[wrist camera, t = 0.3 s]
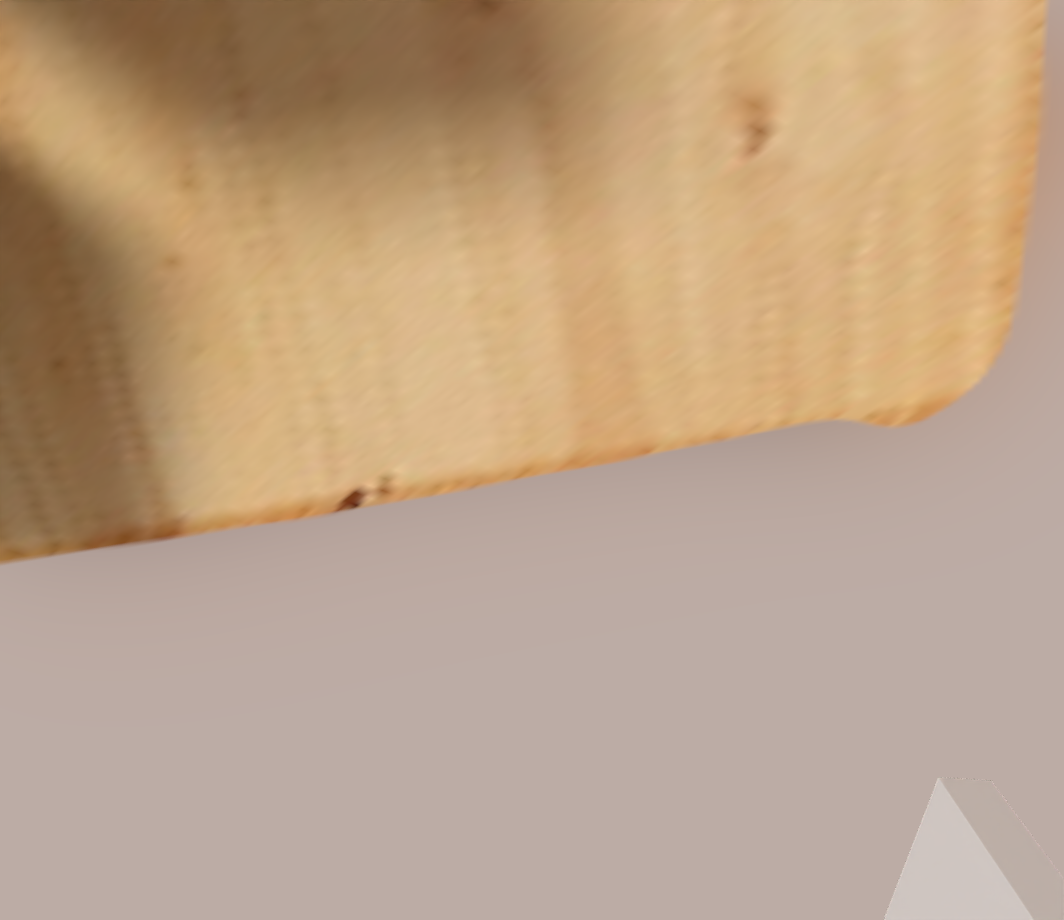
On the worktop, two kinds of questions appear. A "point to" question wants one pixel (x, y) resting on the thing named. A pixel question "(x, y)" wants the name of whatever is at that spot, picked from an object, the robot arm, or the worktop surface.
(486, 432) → the worktop surface
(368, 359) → the worktop surface
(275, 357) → the worktop surface
